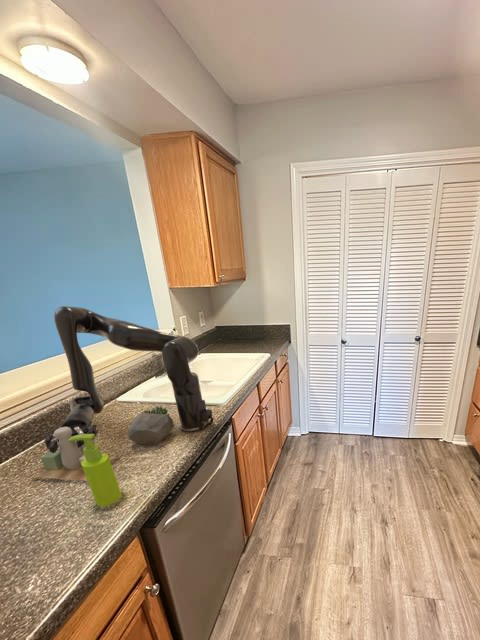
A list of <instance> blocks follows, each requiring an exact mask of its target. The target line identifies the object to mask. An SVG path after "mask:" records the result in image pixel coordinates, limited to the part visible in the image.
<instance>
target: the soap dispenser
mask: <svg viewBox="0 0 480 640" xmlns="http://www.w3.org/2000/svg"><path fill="white" fill-rule="evenodd" d="M94 436H95V434H80V435H75V436H73V437H71V438H70V439H69V440H68V441H69V442H71V441H75V442H76V441H77V440H84V443H85V444H84V447H83V448H82V453H83V454H84V455H85V458H86V459H84V460H83V461H82V463H81V465H82V468H83V470H84V473H85V476H86V478H87V480H86V481H87V484H88V486H89V488H90V492H91V494H92V496H93V499H94V501H95V504H96V506H98V507H103V508H104V507H109V506H111V505H113V504H115V503H117V502H118V501H119V500H120V499H121V498H122V493H121V489H120V486H119V483H118V480H117V477H116V474H115V471H114V469H113V465H112V461H110V459H109V456H110V455H109V454H108V453H105V452H104V453H101V451H102V450H101V448H100V446H99V444H97V443H94V441H93V439H92V438H93V437H94ZM95 437H96V436H95Z"/></svg>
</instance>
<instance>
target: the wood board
mask: <svg viewBox="0 0 480 640" xmlns="http://www.w3.org/2000/svg"><path fill="white" fill-rule="evenodd" d="M108 456H109V459H110V462H112V461H113V459H115V458H116V456H114V455H113V456H111V455H108ZM34 478H42V479H43V478H44V479H59V480H60V479H62V480H81V481H87V478H86V476H85V473H84V471H83V468H82V467H80V468H78V469H75V470H69V469H67V468H66V467H65V466H63V467H62V468H61V469H59V470H48V469H45V468H44V470H42V471H40V472H39V473H38V474H37V475H35V476H34Z"/></svg>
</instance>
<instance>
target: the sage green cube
mask: <svg viewBox="0 0 480 640" xmlns="http://www.w3.org/2000/svg"><path fill="white" fill-rule="evenodd" d="M40 460H41V462H42V465H43V466H44V470H45V469H48V470H59V469H61V468H62V467H63V464H62V458H61V451H60V448H58V449H57V451H56V453H52V452H50V450H49V451H47V452H46V453H44V454H43V455H41V456H40Z"/></svg>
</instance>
